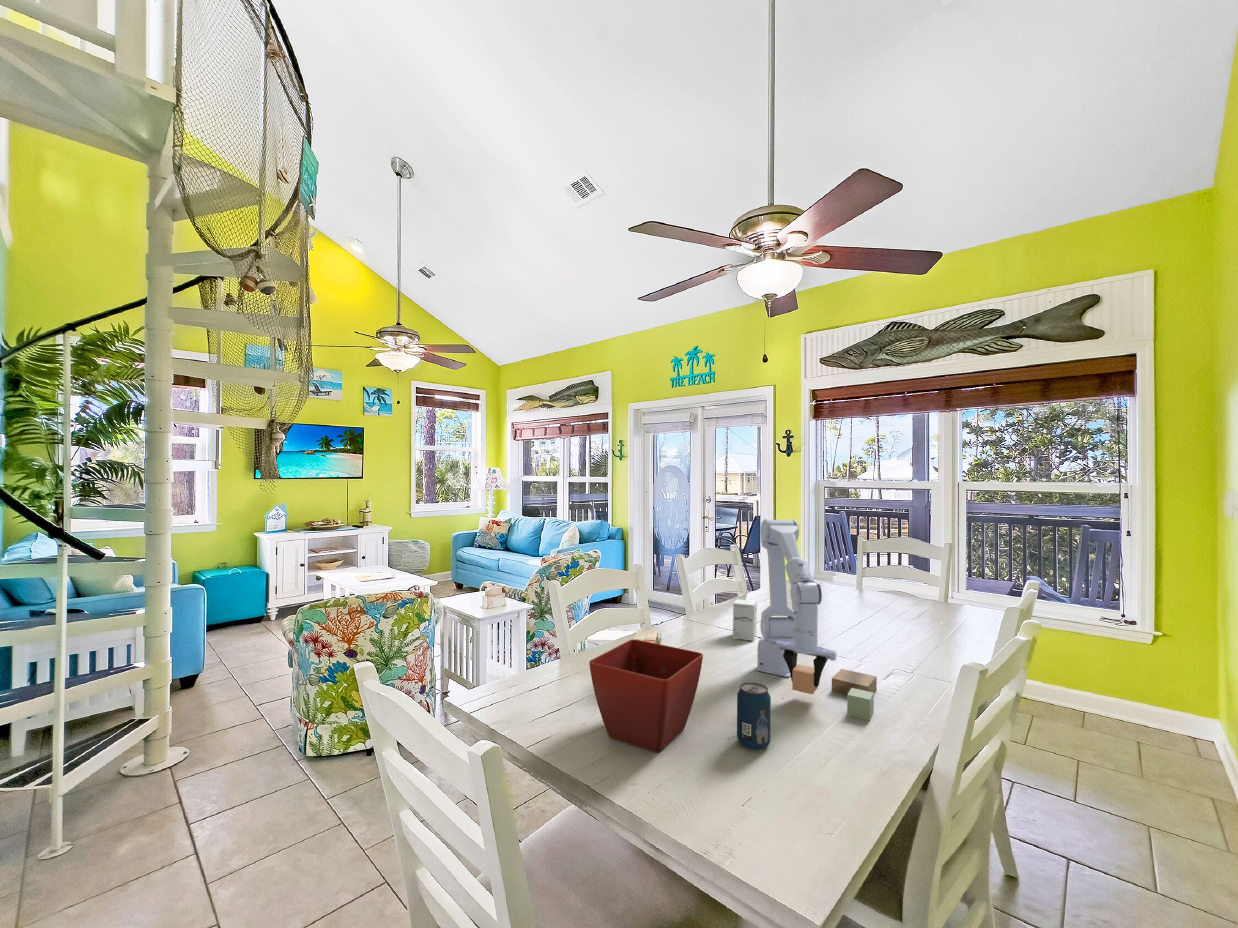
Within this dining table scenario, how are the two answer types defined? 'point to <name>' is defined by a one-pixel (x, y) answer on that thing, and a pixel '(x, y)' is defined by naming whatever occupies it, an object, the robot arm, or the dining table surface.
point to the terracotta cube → (803, 679)
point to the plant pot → (645, 691)
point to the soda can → (753, 716)
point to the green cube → (860, 704)
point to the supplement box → (744, 619)
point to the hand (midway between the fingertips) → (805, 683)
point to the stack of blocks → (648, 636)
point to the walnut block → (853, 682)
